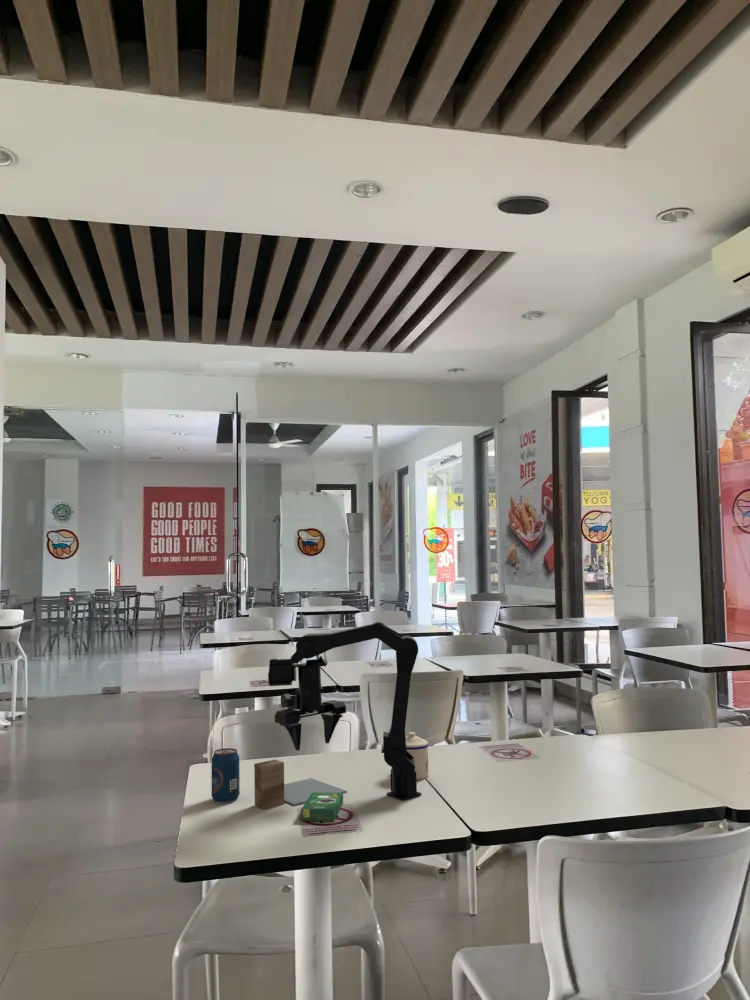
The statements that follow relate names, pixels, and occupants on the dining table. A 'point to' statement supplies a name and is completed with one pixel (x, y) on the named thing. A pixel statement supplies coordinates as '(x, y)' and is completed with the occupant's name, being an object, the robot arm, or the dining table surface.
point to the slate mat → (306, 790)
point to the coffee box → (322, 806)
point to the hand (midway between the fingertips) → (312, 746)
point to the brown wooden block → (269, 784)
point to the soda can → (225, 775)
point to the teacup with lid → (418, 754)
